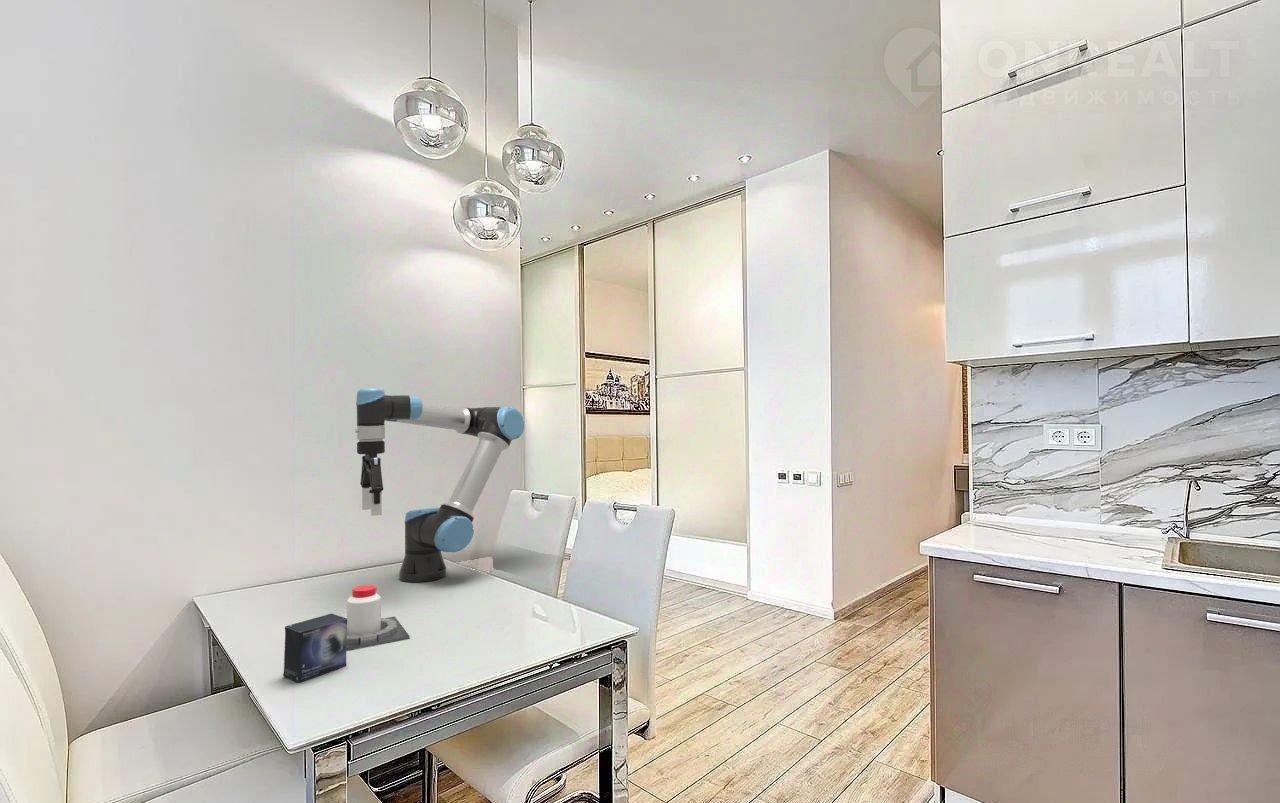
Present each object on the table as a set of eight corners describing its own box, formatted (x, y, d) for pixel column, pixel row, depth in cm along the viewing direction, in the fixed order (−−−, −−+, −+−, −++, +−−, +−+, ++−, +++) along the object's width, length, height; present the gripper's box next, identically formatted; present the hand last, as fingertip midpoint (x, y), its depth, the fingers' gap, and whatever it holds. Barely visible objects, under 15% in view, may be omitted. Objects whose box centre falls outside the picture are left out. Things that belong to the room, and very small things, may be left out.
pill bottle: (339, 635, 148) (339, 590, 149) (364, 625, 156) (364, 582, 156) (363, 639, 146) (363, 593, 146) (387, 629, 153) (388, 585, 153)
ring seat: (394, 618, 163) (394, 611, 163) (409, 638, 148) (409, 631, 148) (319, 631, 153) (319, 624, 153) (327, 654, 138) (327, 646, 138)
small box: (299, 684, 123) (299, 631, 123) (282, 677, 126) (282, 626, 127) (348, 666, 132) (348, 617, 132) (331, 659, 135) (331, 612, 135)
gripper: (349, 439, 188) (350, 508, 187) (365, 442, 167) (366, 519, 167) (375, 438, 192) (376, 505, 192) (394, 441, 171) (394, 516, 171)
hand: (371, 512), depth 179 cm, fingers open, 13 cm apart
